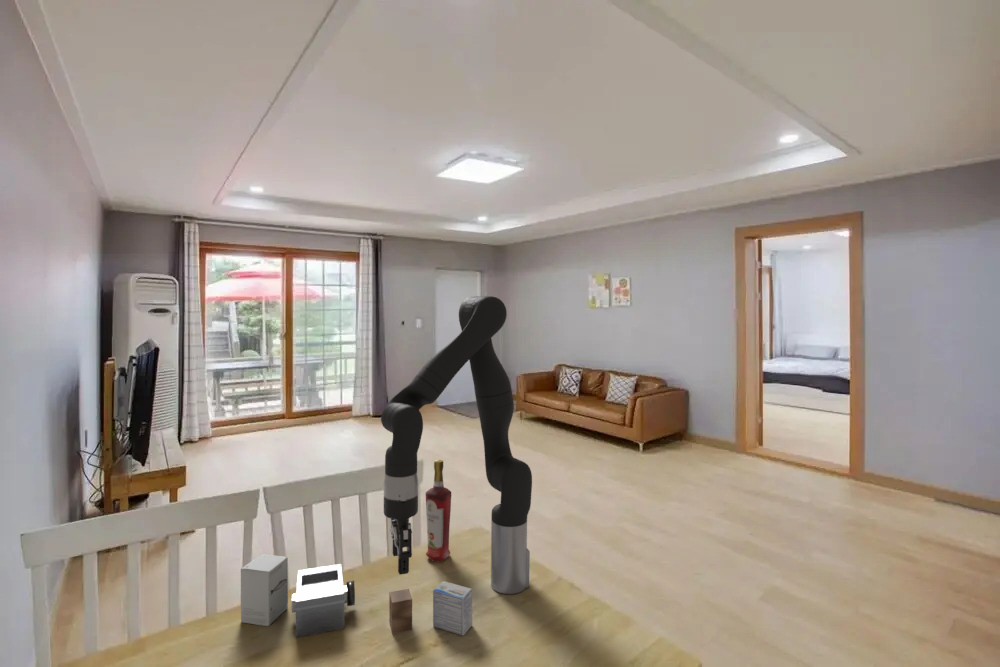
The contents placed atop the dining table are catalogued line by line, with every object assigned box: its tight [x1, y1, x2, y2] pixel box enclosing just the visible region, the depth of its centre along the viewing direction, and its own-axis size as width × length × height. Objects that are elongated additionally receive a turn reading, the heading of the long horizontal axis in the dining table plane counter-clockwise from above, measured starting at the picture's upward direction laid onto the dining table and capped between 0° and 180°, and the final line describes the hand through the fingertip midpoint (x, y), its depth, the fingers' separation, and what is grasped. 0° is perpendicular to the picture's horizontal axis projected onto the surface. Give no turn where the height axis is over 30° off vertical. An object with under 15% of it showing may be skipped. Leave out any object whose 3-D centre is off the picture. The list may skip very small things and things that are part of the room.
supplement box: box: [240, 553, 289, 627], centre depth 117 cm, size 7×7×13 cm
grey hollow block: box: [295, 563, 345, 639], centre depth 118 cm, size 10×14×8 cm
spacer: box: [388, 588, 413, 635], centre depth 114 cm, size 4×4×7 cm
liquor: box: [425, 459, 452, 562], centre depth 145 cm, size 7×7×28 cm
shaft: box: [291, 580, 356, 613], centre depth 118 cm, size 14×5×5 cm, turn 110°
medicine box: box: [432, 580, 473, 636], centre depth 114 cm, size 8×4×9 cm, turn 65°
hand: (400, 563), depth 114 cm, fingers open, 8 cm apart
